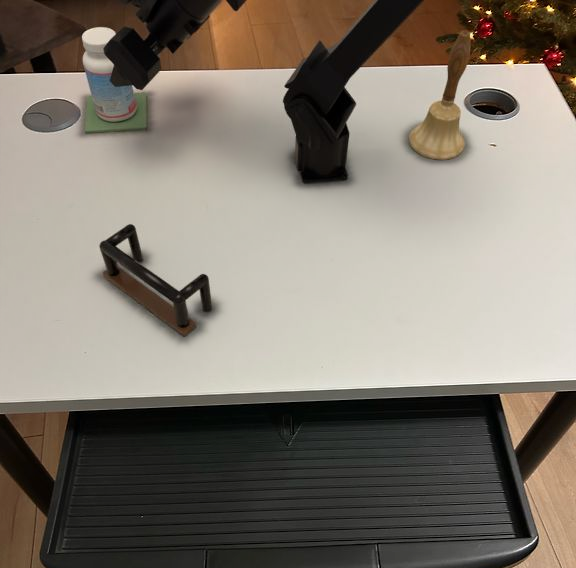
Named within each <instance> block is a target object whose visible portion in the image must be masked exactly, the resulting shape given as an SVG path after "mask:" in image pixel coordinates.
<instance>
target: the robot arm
mask: <svg viewBox="0 0 576 568" xmlns="http://www.w3.org/2000/svg"><path fill="white" fill-rule="evenodd" d="M117 1H118V2H119V3H121V4H122V5H128V4H131V5H132V6H133V7H135V8H139V9H138V10H137V12H135V14H134V15H135V16H136V17H137V18H138V20H140V21H141V23H142V24H144V23H145V24H146V25H145V27H146V30H147V31H148V33H149V34H148V35H147V37H146V38H145V39H144V38H143V37H141V35H140V34H139V33H138V32H137V31H136V29H134V28H133V27H129V26H123V27H121V29H120V30H118V32H115V33H116V34H115V35H114V36H113V37H112V38H111V39H110V40H109V41H108V43H107V44H106V45H105V47H104V48H103V50H104V55H105V56H106V57H107V58H108V59H109V60H110V61H111V62H112V63H113V64H114V67H113V70H112V73H111V77H110V82H111V83H112V84H113V85H114V86H115V87H122V86H132V87H133V88H134V89H136V90H138V91H143V90H144V89H145V88H146V87H147V86H148V85H149V84H150V83H151V81H152V80H153V79H154V78H155V77H156V76H157V75H158V74H159V73H160V71H162V63H161V62H162V61H161V57H159V56H160V55H161V53H162V52H163V51H164V50H165V49H166V48H167V49H168V50H169V51H170V53H171V54H172V55H173V54H175V53H176V52H177V50H178V49H179V48H180V47H182V45H183V44H184V43H185V42H186V41H187V40H189V39H190V38H191V37H192V36H193V35H194V34H196V33H197V32H198V31H199V30H200V29H201V27H203V25H204V24H205V23H206V22H207V21H208V19H209V18H210V17H211V14H212V13H213V12H214V11H215V10H216V9H217V8H218V7H219V6H220V5H221V4H222V2H223V1H224V0H117ZM247 1H248V0H225V2H227V4H228V5H229V6H230V8H231V9H232V10H233V12H238V11H239V10H240V9H241V8H242V6H243V5H244V4H246V2H247ZM424 1H425V0H373V1H372V2H371V4H369V5H368V6H367V8H366V9H365V10H364V11H363V12H362V14H361V15H360V16H359V17H358V18H357V20H355V22H354V23H353V24H352V25H351V26H350V27H349V29H347V31H346V32H345V33H344V34H343V36H342V37H341V38H340V39H339V40H338V41H337V42H336V43H334V44H333V45H331V46H329V47H327V48H326V46H325V45H324V43H323V42H322V41H321V39H318V41H317V43H316V44H315V45H314V47H313V48H312V50H311V51H310V53H309V54H308V56H307V57H304V58H302V59H301V61H300V62H299V64H298V65H297V66H296V68H295V69H294V71H293V72H292V74H291V75H290V77H289V78H288V80H287V81H286V83H285V84H284V85H283V86H284V88H285V89H287V90H286V92H285V94H284V95H283V99H282V104H283V108H284V112H285V113H286V115H287V117H288V118H289V119H290V122H291V124H292V128H293V131H294V134H295V143H294V162H295V167H296V171H297V172H299V174H300V178H301V182H302V183H304V184H311V183H312V184H313V183H324V182H325V183H327V182H340V181H341V182H342V181H347V180H348V179H349V174H348V170H347V158H348V152H349V151H348V150H349V142H350V136H351V135H350V134H351V133H350V130H349V127H348V120H349V118H350V117H351V115H352V113H353V112H354V109H355V108H356V107H357V102H356V100H355V98H353V96H352V95H351V94H350V92H349V91H348V89H347V88H346V85H347V84H348V82H349V81H350V80H351V78H352V77H353V76H354V75H355V74H356V73H357V72H358V71H359V70H360V68H362V67H363V65H365V63H366V62H367V61H368V60H369V59H370V58H371V57H372V56H373V55H374V54H375V53H376V52H377V51H378V50H379V49H380V48H381V47H382V45H384V43H385V42H386V41H387V40H389V38H390V37H391V36H392V35H393V34H394V33H395V32H396V31H397V30H398V29H399V28H400V27H401V26H402V25H403V23H405V22H406V20H407V19H408V18H409V17H411V15H412V14H413V13H414V12H415V11H416V10H417V9H418V8H419V7H420V6H421V5H422V4H423V2H424Z"/></svg>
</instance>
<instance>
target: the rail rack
mask: <svg viewBox="0 0 576 568" xmlns="http://www.w3.org/2000/svg"><path fill="white" fill-rule="evenodd" d="M125 240H127V241H128V245H129V247H130V249H129V250H130V252H131V256H132V257H131V256H130V255H129V254H127V253H126V252H125V251H124V250H121V249H120V248H119V247H117V246H119V245H120V244H121V243H123V242H124V241H125ZM98 248H99V250H100V251H99V252H100V253H101V257H102V259H103V263H104V265H105V268H106V270H104V271H102V276H103V278H104V279H106V280H107V281H108V282H110V283H111V284H113V285H114V286H115V287H116V288H117V289H118V290H120V291H122V293H125V294H126V295H127V296H129V297H130V298H131V299H132V300H134V301H135V302H136V303H138V304H139V305H141V306H142V307H144V308H145V309H146V310H147V311H149V312H150V313H152V314H153V315H154V316H156V318H158V319H159V320H161V321H162V322H163V323H165V324H166V325H167V326H169V327H170V328H171V329H173V330H174V331H175V332H177V333H178V334H180V335H181V336H182V337H186V336H187V335H188V334H189V333H191V332H192V331H193V330H194V329H196V328H197V323H196V321H194V320H193V319H192V318H190V316H189V311H188V305H187V300H188V299H189V298H191V297H192V296H193V295H195V293H197V292H198V291H199V296H200V303H201V309H202V311H203V312H204V313H209V312H211V311H212V310H213V300H212V294H211V293H212V292H211V287H210V278H209V276H208V275H207V274H206V273H201V274H199V275H198V276H196V277H195V278H194V279H192V281H190V282H189V283H187V284H186V285H185V286H184V287H182V288H181V289H180V290H178V289H177V288H175V287H174V286H173V285H171V284H170V283H169V282H167V281H165V280H164V279H163V278H161V277H160V276H159V275H157V274H156V273H154V272H153V271H152V270H150V269H149V268H147V267H146V266H144V264H141V263H142V262H143V261H144V256H143V252H142V247H141V244H140V239H139V235H138V232H137V227H136V226H135V225H134V224H133V223H129V224H126V225H125V226H124V227H122V228H121V229H119V230H118V231H117V232H115V233H113V234H112V235H111V236H109V237H108V238H106V239H105V240H102V241H101V242H99V247H98ZM119 265H120V266H122V268H124V269H126V270H127V271H128V272H130V273H131V274H133V275H134V276H136V277H137V278H138V279H139V280H141V281H143V282H144V283H145V284H146V285H148V286H149V287H151V288H152V289H153V290H154V291H156V292H158V293H159V294H160V295H161V296H163V297H164V298H166V299H167V300H168V301H170V302H171V303H172V304H171V303H169V302H168V301H167V300H165V299H164V298H163V297H161V296H160V295H158V294H157V293H156V292H154V291H153V290H151V289H150V288H148V287H147V286H146V285H145V284H143V283H142V282H140V281H139V280H138V279H136V278H135V277H134V276H132V275H131V274H130V273H128V272H127V271H125V270H124V269H122V268H121V267H120V266H119Z"/></svg>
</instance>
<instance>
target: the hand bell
mask: <svg viewBox="0 0 576 568" xmlns="http://www.w3.org/2000/svg"><path fill="white" fill-rule="evenodd" d="M448 55H449V56H448V60H447V61H448V62H447V68H446V70H447V79H446V85H445V87H444V90H443V94H442V98H441V100H437V101H434V102H432V103H431V104H430V106H429V108H428V111H427V114H426V116H425V118H424V120H423V121H422V123H420V124H418V125H417V126H415V127H414V128H413V129H412V130H411V131H410V133H409V135H408V143H409V145H410V147H411V149H413V151H415V152H416V153H417V154H418V155H421V156H423V157H425V158H428V159H431V160H441V161H443V160H445V161H446V160H451V159H454V158H457V157H458V156H459V155H461V154H462V153H463V152H464V150H465V147H466V143H465V138H464V136H463V134H462V132H461V131H460V120H461V113H462V112H461V111H462V110H461V108H460V107H459V106H458V105H457V104H456V103H455V99H456V94H457V92H458V91H457V90H458V85H459V83H460V81H461V78H462V76H463V75H464V73H465V71H466V69H467V67H468V63H469V61H470V57H471V32H470V31H468V30H461V31H460V32H459V34H458V36H457V38H456V40H455V42H454V43H453V46H452V47H451V49H450V51H449V54H448Z"/></svg>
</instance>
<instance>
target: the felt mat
mask: <svg viewBox="0 0 576 568" xmlns="http://www.w3.org/2000/svg"><path fill="white" fill-rule="evenodd" d="M134 96H135V101H136V106H137V109H136V112H135V114H134V115H133V116H132V117H130V118H128V119H126V120H122V121H117V122H110V121H106V120H103V119H101V118H100V117H99V116H98V115H97V113H96V110H95V106H94V103H93V99H92V95H87V97H86V110H85V111H86V112H85V121H84V122H85V124H84V125H85V126H84V134H96V133H97V134H98V133H99V134H100V133H113V132H114V133H115V132H129V131H146V130H148V111H147V110H148V109H147V107H148V105H147V98H148V97H147V92H134Z"/></svg>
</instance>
